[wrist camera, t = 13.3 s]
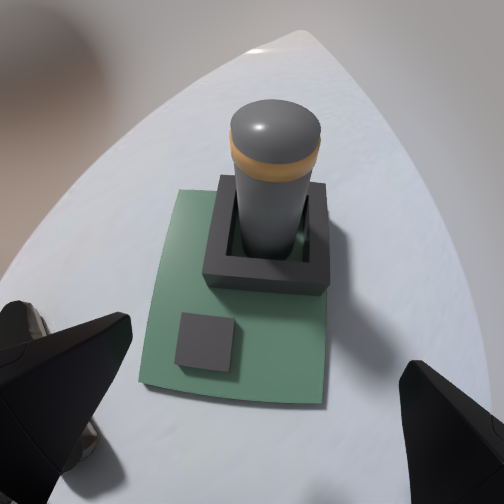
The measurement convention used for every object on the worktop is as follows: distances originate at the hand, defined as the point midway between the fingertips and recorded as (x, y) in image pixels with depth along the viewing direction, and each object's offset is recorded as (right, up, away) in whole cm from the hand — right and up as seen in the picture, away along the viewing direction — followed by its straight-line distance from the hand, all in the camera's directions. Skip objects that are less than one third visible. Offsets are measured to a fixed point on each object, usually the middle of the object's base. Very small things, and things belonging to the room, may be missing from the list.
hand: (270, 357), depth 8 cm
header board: (-2, 0, +15) cm, 15 cm away
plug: (+1, +4, +16) cm, 17 cm away
